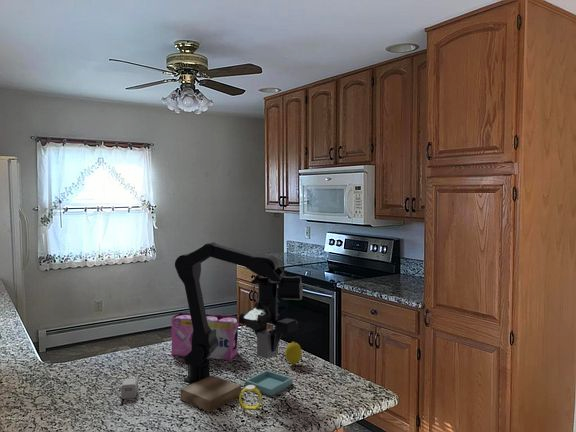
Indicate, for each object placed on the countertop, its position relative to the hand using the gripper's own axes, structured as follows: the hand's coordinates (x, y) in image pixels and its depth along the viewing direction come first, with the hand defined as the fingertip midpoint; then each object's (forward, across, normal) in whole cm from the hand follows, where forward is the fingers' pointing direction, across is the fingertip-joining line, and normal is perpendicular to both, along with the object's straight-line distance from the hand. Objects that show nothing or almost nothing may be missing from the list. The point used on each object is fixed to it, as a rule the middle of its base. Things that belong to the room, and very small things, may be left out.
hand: (267, 349), depth 135 cm
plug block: (+2, 0, 0) cm, 2 cm away
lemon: (+11, -4, +18) cm, 22 cm away
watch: (+11, +5, -13) cm, 18 cm away
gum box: (+11, -36, +7) cm, 38 cm away
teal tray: (+11, 0, 0) cm, 11 cm away
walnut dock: (+11, -8, -16) cm, 21 cm away
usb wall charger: (+11, -28, -28) cm, 41 cm away
